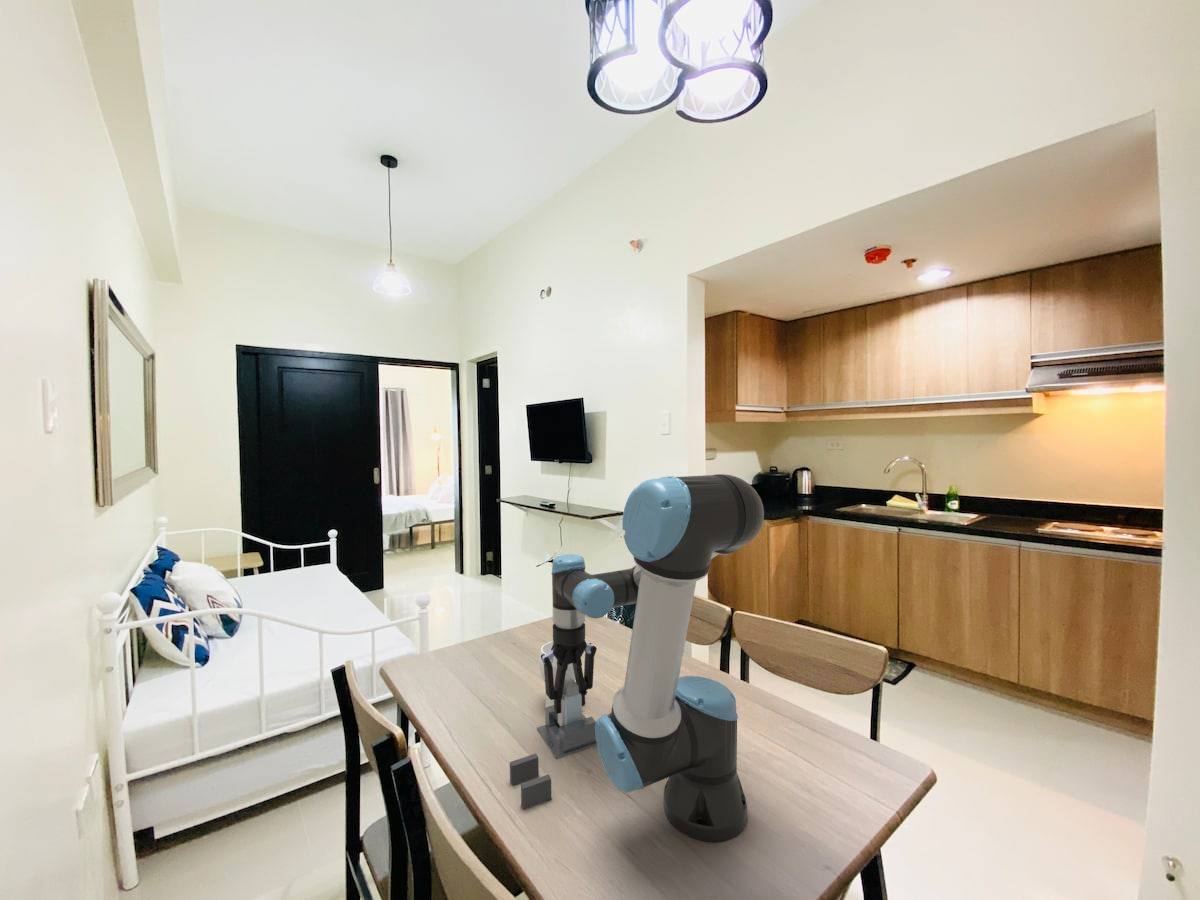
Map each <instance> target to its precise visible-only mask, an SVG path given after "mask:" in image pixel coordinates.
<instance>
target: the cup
mask: <svg viewBox="0 0 1200 900" xmlns="http://www.w3.org/2000/svg"><path fill="white" fill-rule="evenodd" d="M552 646H553V640H552V641H549V642H546V643H545V644H542V646H541V648H540V653H539V657H538V667H539V671H540V675H541V677H542V680H543V681H544V682H545V674H544V663H543V661H542V659H541V655H542V654H545V655H546V654H548V653H549V652H550V651H551V648H552ZM552 667H553V680H554V684H555V678H556V671H557V659H556V657H555V656H554V657H553V663H552ZM568 678H572V679H573V680H574V681H575V682H576V680H575V674H574V669H573V663H571V664H569V665H568V668H567V670H566V674H565V679H568ZM545 695H546V694H545ZM553 705H554V699H553V700H550V698H549V697H548V696H547V695H546V696H545V705H544V707H545V708H546V707H549V706H553Z"/></svg>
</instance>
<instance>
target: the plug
mask: <svg viewBox="0 0 1200 900" xmlns="http://www.w3.org/2000/svg"><path fill="white" fill-rule="evenodd" d="M562 697H563V698H564V699H565V725H566V724H569V723H573V722H576V721H579V720H581V695H580V693H579V686H578V685H577V683H576V680H575V681H574V680H573V679H572V678H568V679H565V681H564V688H563V694H562Z"/></svg>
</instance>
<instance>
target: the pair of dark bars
mask: <svg viewBox="0 0 1200 900" xmlns="http://www.w3.org/2000/svg"><path fill="white" fill-rule="evenodd" d="M539 762H540V761H539V756H538V754H537V753H532V754H530V755H527V756H524V757H520V758H518V759H515V760H512V761H509V782H510V784H511V786H512V787H514V786H516V785H519V784H520V805H521V808H522V809H523V811H524V810H526V809H529V808H532V807H535V806H537V805H540V804H542V803H545V802H547V801H550V800H552V797H553V796H552V777H551V776H550V774H549V773H548V774H546V775H542V776H540V777H539V773H540V772H539V771H540V770H539V766H540V764H539Z"/></svg>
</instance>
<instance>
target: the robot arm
mask: <svg viewBox="0 0 1200 900" xmlns="http://www.w3.org/2000/svg"><path fill="white" fill-rule="evenodd" d="M623 509H624V510H623V513H622V530H623V531H624V535H623V539H624V542H625V545H626V547H627V550H628V552H630V554H631V555H632V557H633V562H634V563H635V565H634V566H633V567H632V568H627V569H621V570H614V571H607V572H603V573H596V574H594V573H593V574H590V573H589V572H587V571H586V564H585V558H584V557H583V556H581V555H579V554H569V553H568V554H561V555H557V556H556V557H554V558H553V560H552V567H551V568H552V569H551V579H552V580H551V582H552V584H551V585H552V586H551V587H552V589H551V590H552V591H551V592H552V593H551V594H552V595H551V596H552V622H553V624H552V641H553V646H552V648H551V651H550V652H549V653H548V654H546V655H545V654H542V655H541V659H542V661H543V663H544V674H545V681H544V686H545V687H544V688H545V695H547V696H548V697H549V698H550V700H553V699H554V710H555V712H556V713H557V714H558V723H559V725H560V726H563V725H565V699H564V698H563V697H562V694H563V688H564V681H565V674H566V670H567V668H568V665H569V664H571V663H573V669H574V674H575V682H576V683H577V685H578V686H579V693H580V695H581V720H582V714H583V708H582V707H585V704H586V695H588V690H592V689H593V687H594V686H593V685H594V667H595V666H594V665H595V663H594V662H595V655H596V652H597V646H595V644H593V643H592V642H589V643H587V642H586V623H585V622H586V616H587V618H591V619H601V618H604V617H605V616H606V615H607V614H608V613H610V612H611V611H612V609H614V608H618V607H623V606H624V607H625V606H628V605H634V604H635V609H634V610H635V611H634V618H633V624H632V630H631V638H630V645H629V653H628V658H627V666H626V672H625V678H624V679H625V680H624V685H623V686H621V687H620V688H618V690H617V691H616V692H615V694H614V696H613V699H612V704H611V705H612V706H611V712H609V713H608V714H606V713H604V714H602V715H601V716H599V717H598V718H597V719H596V720H595V721H596V724H595V736H596V742H597V745H596V746H597V750H598V754H599V758H600V760H601V764H602V766H603V768H604V770H605V773H606V774H607V777H608V778H609V780H610V782H611V783H612V784H613V785H614V788H616V789H617V790H618V791H620V792H623V793H630V792H633V791H636V790H643V789H644V788H645V787H648V786H650V785H653V784H655V783H658V782H660V781H663V780H666V779H667V780H666V782H665V785H664V787H663V788H664V789H663V810H664V813H665V816H666V817H667V819H668V821H669V822H670V823H671V825H673V826H674V828H676V829H677V830H678V831H679V832H681V833H682V834H684V835H686V836H687V837H690V838H692V839H695V840H699V841H703V842H709V843H710V842H711V843H712V842H713V843H716V842H717V843H718V842H725V841H727V840H728V841H729V840H731V839H733V838H735V837H736V836H738V835H739V834H740V833H741V832H742V831H743V830H744V828H745V827H746V824H747V818H748V804H747V803H748V802H747V799H746V796H745V792H744V790H743V786H742V783H741V781H740V777H739V774H738V770H737V769H738V768H737V767H738V766H737V765H738V759H737V755H738V753H737V752H738V751H737V750H738V719H739V716H738V712H737V700H736V698H735V695H734V693H733V692H732V690H730V688H729V687H727V686H725V684H722V683H721V682H719V681H716V680H713V679H711V678H709V677H708V678H707V677H704V676H697V675H685V676H681V677H680V673H681V667H682V663H683V657H684V652H685V651H684V650H685V647H686V646H685V645H686V639H687V635H688V629H689V623H690V619H691V613H692V606H693V601H694V596H695V590H696V584H697V581H700V580H702V579H704V578H705V577H706V576H707V575H708V574H709V571H710V567H711V565H710V564H711V560H712V559H714V558H715V557H718V555H722V556H728V555H731V554H733V553H735V552H736V551H738V550H740V549H741V548H743V547H744V546H746V545H748V544H749V543H750V542H751V541H753V540H754V539H755V538H756V537H757V536H758V535H759V533H760V532H761V530H762V527H763V524H764V520H765V510H764V504H763V501H762V499H761V496H760V495H759V494H758V492H757V491H756V489H755V488H754V487H753V486H752V485H751V484H750V483H749V482H747V481H746V480H744V479H743V478H740V477H737V476H736V475H732V474H724V473H722V474H721V473H720V474H711V475H710V474H709V475H708V474H707V475H705V474H704V475H688V476H673V475H666V476H662V477H659V478H651V479H646V480H644V481H642V482H641V483H640V484H638V485H637V486H636V487H635V488H633V489H632V491H631V492H630V494H629V496H628V497H627V499H626V502H625V506H624V508H623ZM584 652H585V653H584ZM583 655H584V668H583V667H582V666H583V662H582V656H583ZM554 656H555V657H556V659H557V671H556V678H555V684H554V680H553V667H552V663H553V657H554Z"/></svg>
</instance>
